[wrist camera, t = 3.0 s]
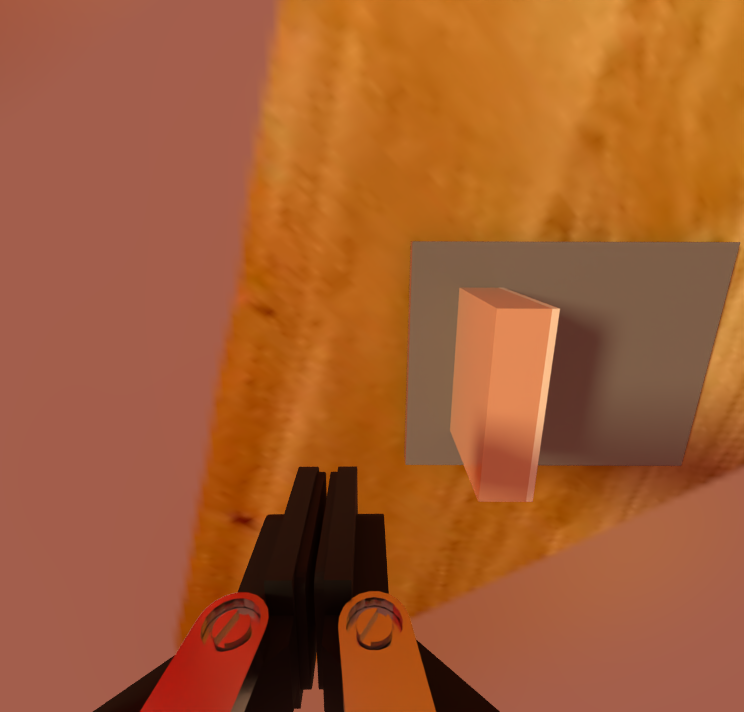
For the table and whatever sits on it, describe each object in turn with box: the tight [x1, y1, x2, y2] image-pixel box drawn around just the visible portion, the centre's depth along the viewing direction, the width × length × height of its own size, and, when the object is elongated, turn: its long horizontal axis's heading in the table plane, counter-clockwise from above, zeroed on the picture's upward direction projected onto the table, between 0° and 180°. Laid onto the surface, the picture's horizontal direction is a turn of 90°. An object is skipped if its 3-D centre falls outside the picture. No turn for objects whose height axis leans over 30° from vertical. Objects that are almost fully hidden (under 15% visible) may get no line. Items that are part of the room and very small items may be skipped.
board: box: [404, 241, 740, 466], centre depth 24 cm, size 18×14×1 cm
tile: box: [450, 288, 560, 502], centre depth 20 cm, size 2×9×7 cm, turn 0°
